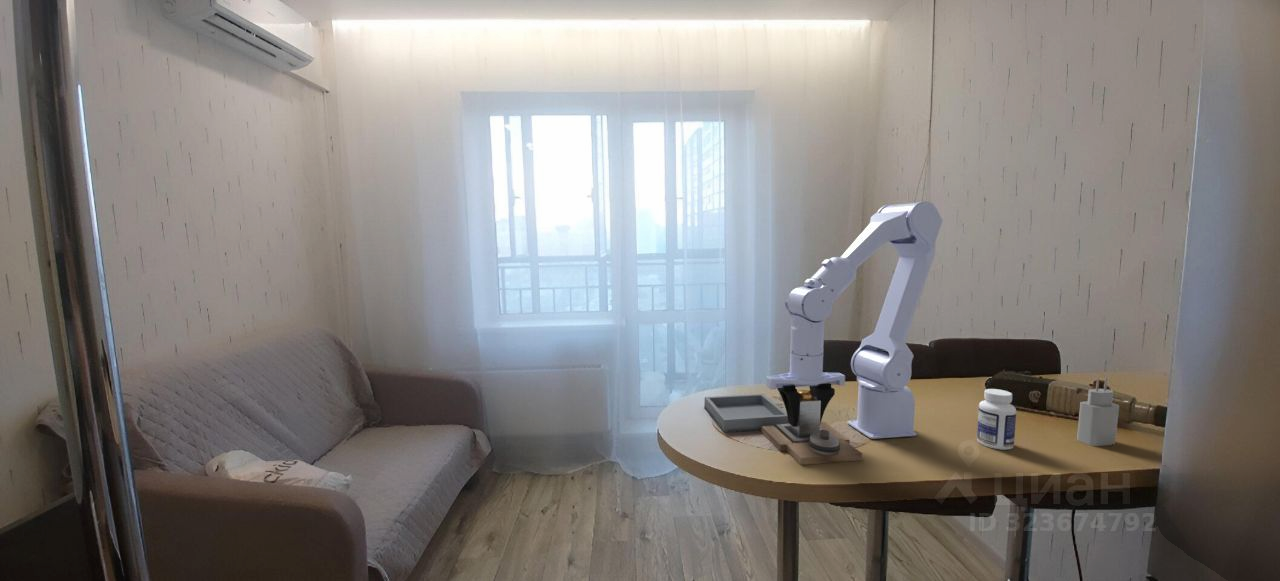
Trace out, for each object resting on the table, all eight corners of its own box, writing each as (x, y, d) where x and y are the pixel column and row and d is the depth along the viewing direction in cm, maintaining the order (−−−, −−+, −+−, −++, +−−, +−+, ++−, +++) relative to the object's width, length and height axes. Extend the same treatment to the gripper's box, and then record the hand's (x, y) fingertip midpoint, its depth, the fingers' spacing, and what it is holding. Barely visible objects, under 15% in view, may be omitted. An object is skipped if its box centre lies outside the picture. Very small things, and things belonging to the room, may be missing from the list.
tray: (762, 404, 106) (762, 393, 106) (790, 428, 93) (790, 415, 93) (704, 407, 104) (704, 397, 104) (723, 432, 91) (724, 420, 91)
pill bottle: (1006, 440, 87) (1010, 388, 86) (1018, 452, 82) (1023, 398, 81) (972, 436, 89) (975, 386, 88) (982, 448, 84) (986, 395, 83)
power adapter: (1117, 444, 85) (1124, 379, 84) (1093, 446, 84) (1100, 381, 83) (1097, 437, 88) (1104, 374, 87) (1074, 439, 87) (1080, 376, 86)
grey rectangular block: (808, 433, 90) (810, 388, 89) (819, 442, 86) (821, 395, 85) (788, 435, 90) (790, 389, 89) (798, 444, 86) (800, 396, 85)
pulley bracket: (824, 427, 93) (825, 406, 93) (868, 459, 79) (869, 434, 79) (761, 432, 91) (761, 410, 91) (794, 465, 78) (795, 440, 77)
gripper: (831, 346, 91) (828, 413, 93) (760, 349, 89) (758, 418, 91) (852, 354, 84) (849, 427, 86) (776, 358, 82) (774, 432, 84)
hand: (804, 423), depth 88 cm, fingers closed on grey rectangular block, 4 cm apart
